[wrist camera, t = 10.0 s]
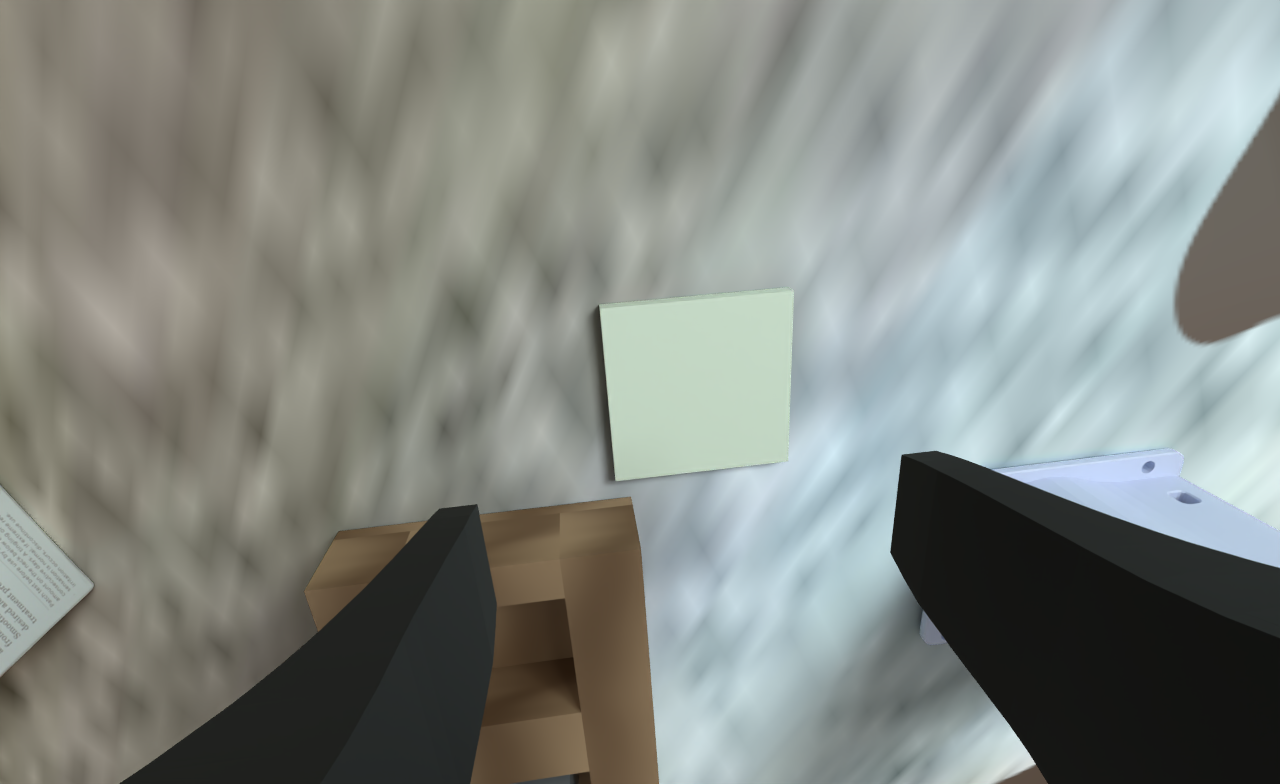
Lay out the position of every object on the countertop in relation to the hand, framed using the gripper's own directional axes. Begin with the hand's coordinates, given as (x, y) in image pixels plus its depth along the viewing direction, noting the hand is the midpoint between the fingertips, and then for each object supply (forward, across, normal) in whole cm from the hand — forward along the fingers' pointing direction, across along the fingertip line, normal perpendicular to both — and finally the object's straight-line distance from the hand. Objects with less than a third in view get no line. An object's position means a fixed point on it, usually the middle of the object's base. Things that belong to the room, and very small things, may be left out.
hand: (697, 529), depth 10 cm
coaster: (+10, -2, +2) cm, 10 cm away
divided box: (+10, +6, +14) cm, 18 cm away
